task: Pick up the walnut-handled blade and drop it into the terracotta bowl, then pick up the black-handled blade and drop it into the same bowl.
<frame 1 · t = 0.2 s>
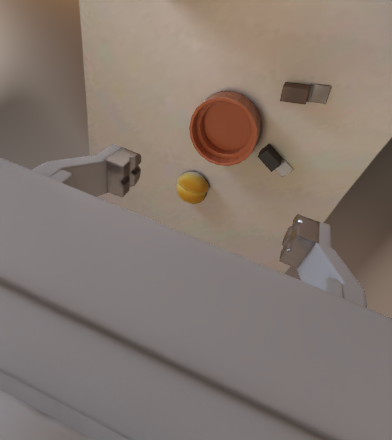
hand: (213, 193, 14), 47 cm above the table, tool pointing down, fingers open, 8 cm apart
walnut blade: (295, 90, 52), on the table
bowl: (228, 125, 60), on the table
bread roll: (194, 185, 73), on the table
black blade: (271, 154, 61), on the table
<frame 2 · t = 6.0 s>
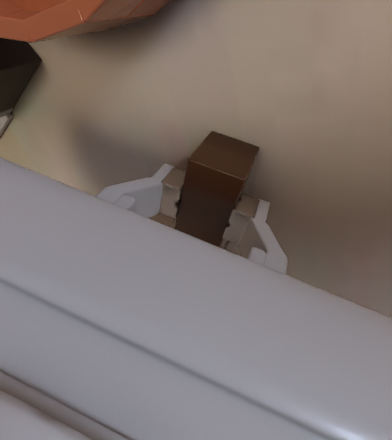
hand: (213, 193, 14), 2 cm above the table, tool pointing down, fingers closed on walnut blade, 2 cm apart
walnut blade: (223, 176, 15), on the table, touching gripper
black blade: (9, 65, 15), on the table
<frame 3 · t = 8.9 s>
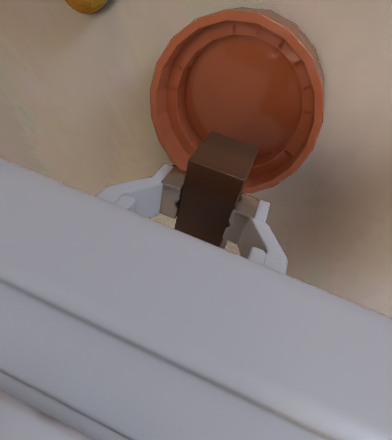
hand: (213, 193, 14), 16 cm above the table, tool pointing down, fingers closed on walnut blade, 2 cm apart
walnut blade: (223, 176, 15), point 14 cm above the table, touching gripper
bowl: (241, 102, 26), on the table
when the fingers open (5 cm above the table, at t = 11.7 s): walnut blade drops 2 cm, resting on bowl.
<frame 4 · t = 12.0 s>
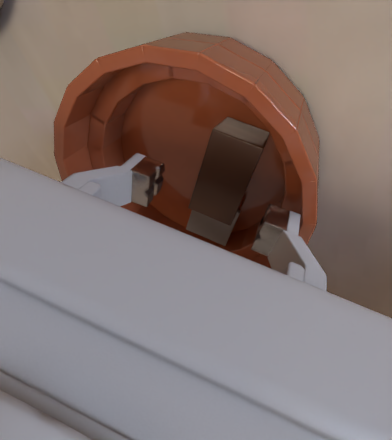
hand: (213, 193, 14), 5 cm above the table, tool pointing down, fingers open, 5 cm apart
walnut blade: (234, 161, 16), point 1 cm above the table, tilted 9°, touching bowl
bowl: (201, 162, 18), on the table
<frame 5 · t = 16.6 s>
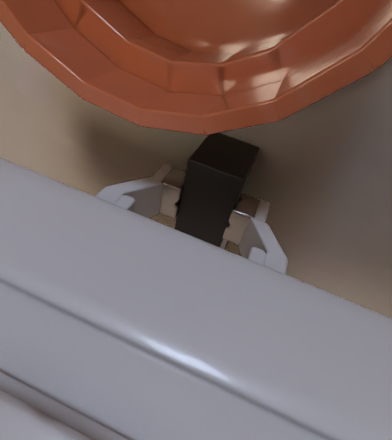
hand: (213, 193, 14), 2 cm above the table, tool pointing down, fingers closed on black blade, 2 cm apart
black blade: (223, 176, 15), on the table, touching gripper
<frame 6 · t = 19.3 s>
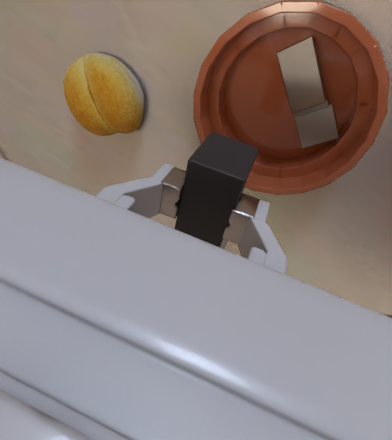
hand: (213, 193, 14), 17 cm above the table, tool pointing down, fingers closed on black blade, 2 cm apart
walnut blade: (305, 75, 23), point 1 cm above the table, tilted 9°, touching bowl
bowl: (285, 99, 25), on the table
bread roll: (111, 95, 31), on the table
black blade: (223, 176, 15), point 15 cm above the table, touching gripper
when the fingers open (6 cm above the table, at t = 22.0 s): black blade stays where it is and tips over, resting on bowl.
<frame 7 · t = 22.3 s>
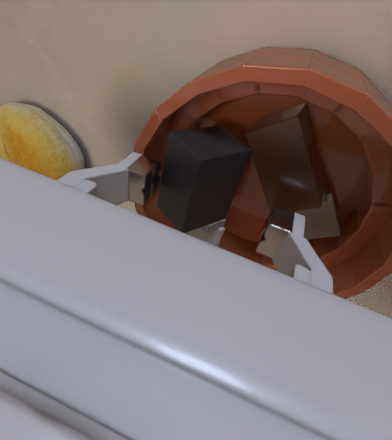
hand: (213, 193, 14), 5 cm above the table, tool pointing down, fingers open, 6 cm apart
walnut blade: (292, 150, 16), point 1 cm above the table, tilted 7°, touching bowl
bowl: (267, 173, 18), on the table
bread roll: (46, 150, 24), on the table
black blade: (223, 174, 15), point 3 cm above the table, tilted 34°, touching bowl, gripper
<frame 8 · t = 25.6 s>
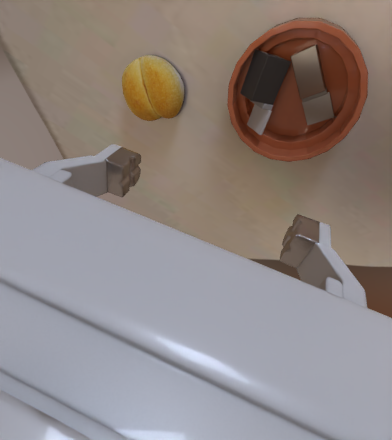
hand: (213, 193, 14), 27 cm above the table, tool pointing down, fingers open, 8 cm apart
walnut blade: (309, 71, 31), point 1 cm above the table, tilted 7°, touching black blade, bowl
bowl: (295, 89, 34), on the table
bread roll: (156, 88, 40), on the table
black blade: (275, 80, 31), point 3 cm above the table, tilted 47°, touching bowl, walnut blade
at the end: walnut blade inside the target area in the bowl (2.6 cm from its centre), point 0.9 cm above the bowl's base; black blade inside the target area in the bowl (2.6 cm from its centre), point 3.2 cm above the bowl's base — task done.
